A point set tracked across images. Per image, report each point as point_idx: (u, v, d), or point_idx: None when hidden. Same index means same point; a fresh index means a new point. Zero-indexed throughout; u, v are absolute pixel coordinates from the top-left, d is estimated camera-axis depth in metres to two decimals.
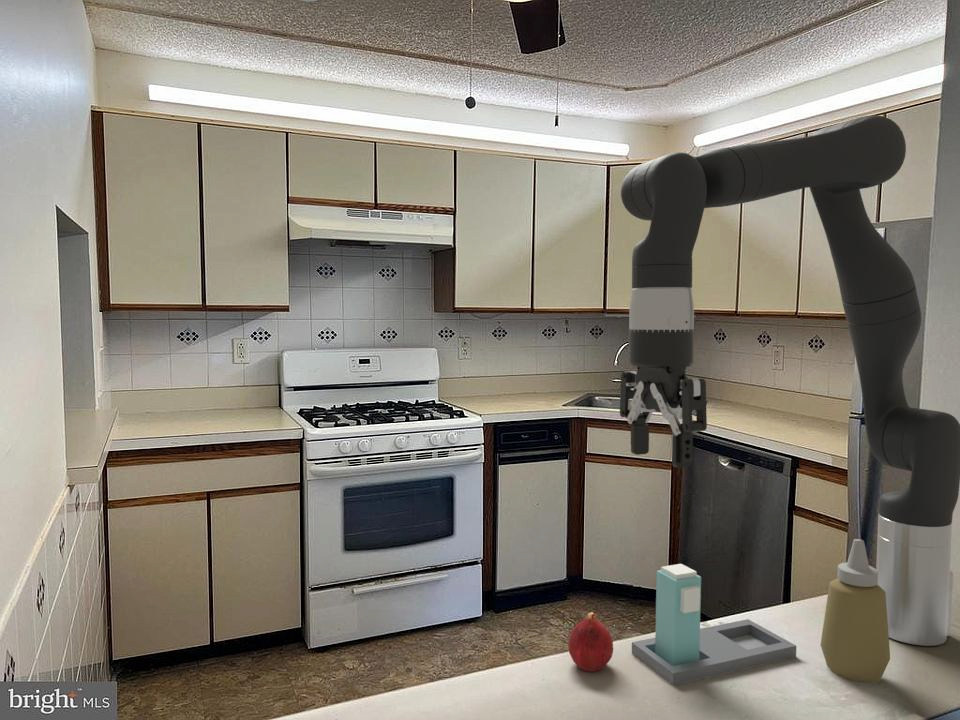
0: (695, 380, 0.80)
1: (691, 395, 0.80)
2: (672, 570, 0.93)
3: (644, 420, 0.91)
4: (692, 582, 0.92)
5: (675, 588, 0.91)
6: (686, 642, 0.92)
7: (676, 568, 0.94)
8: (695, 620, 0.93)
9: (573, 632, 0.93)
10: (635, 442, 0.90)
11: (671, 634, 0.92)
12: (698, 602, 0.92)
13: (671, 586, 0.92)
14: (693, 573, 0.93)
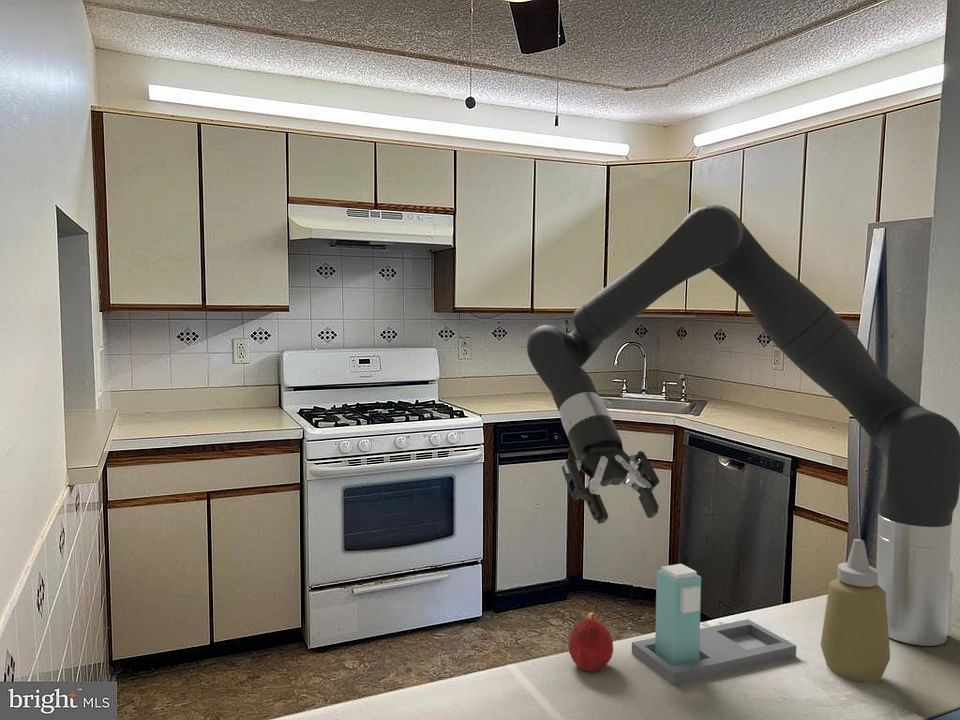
0: None
1: (565, 474, 1.07)
2: (672, 570, 0.93)
3: (642, 488, 1.08)
4: (692, 582, 0.92)
5: (675, 588, 0.91)
6: (686, 642, 0.92)
7: (676, 568, 0.94)
8: (695, 620, 0.93)
9: (573, 632, 0.93)
10: (645, 509, 1.07)
11: (671, 634, 0.92)
12: (698, 602, 0.92)
13: (671, 586, 0.92)
14: (693, 573, 0.93)
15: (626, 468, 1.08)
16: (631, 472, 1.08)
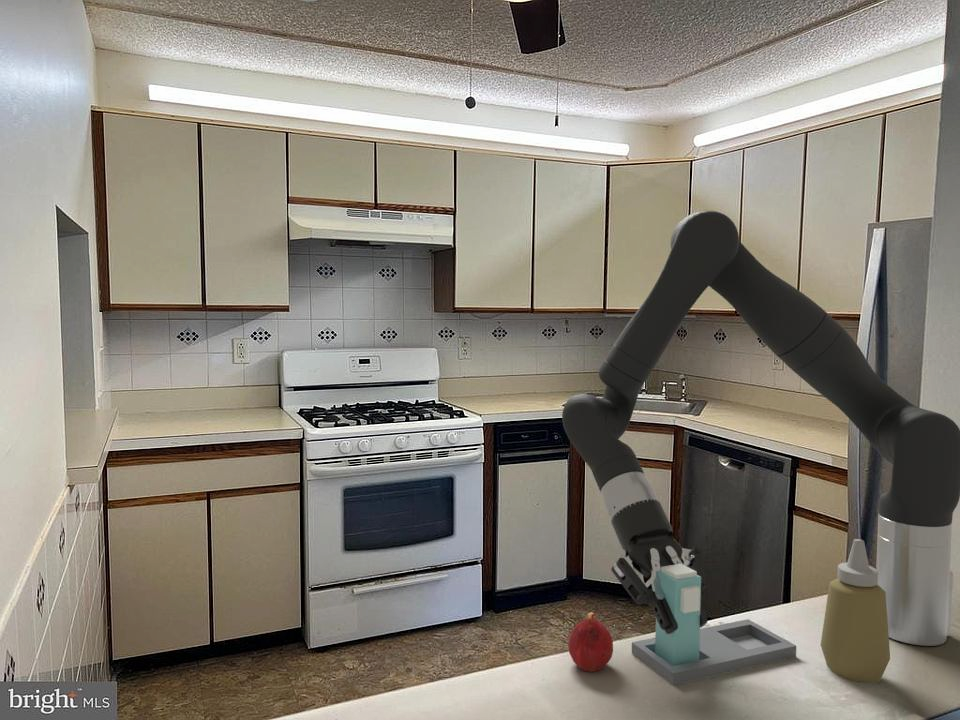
0: (614, 565, 0.96)
1: (619, 578, 0.95)
2: (672, 570, 0.93)
3: None
4: (692, 582, 0.92)
5: (675, 588, 0.91)
6: (686, 642, 0.92)
7: (676, 568, 0.94)
8: (695, 620, 0.93)
9: (573, 632, 0.93)
10: None
11: (671, 634, 0.92)
12: (698, 602, 0.92)
13: (671, 586, 0.92)
14: (693, 573, 0.93)
15: (675, 563, 0.97)
16: None
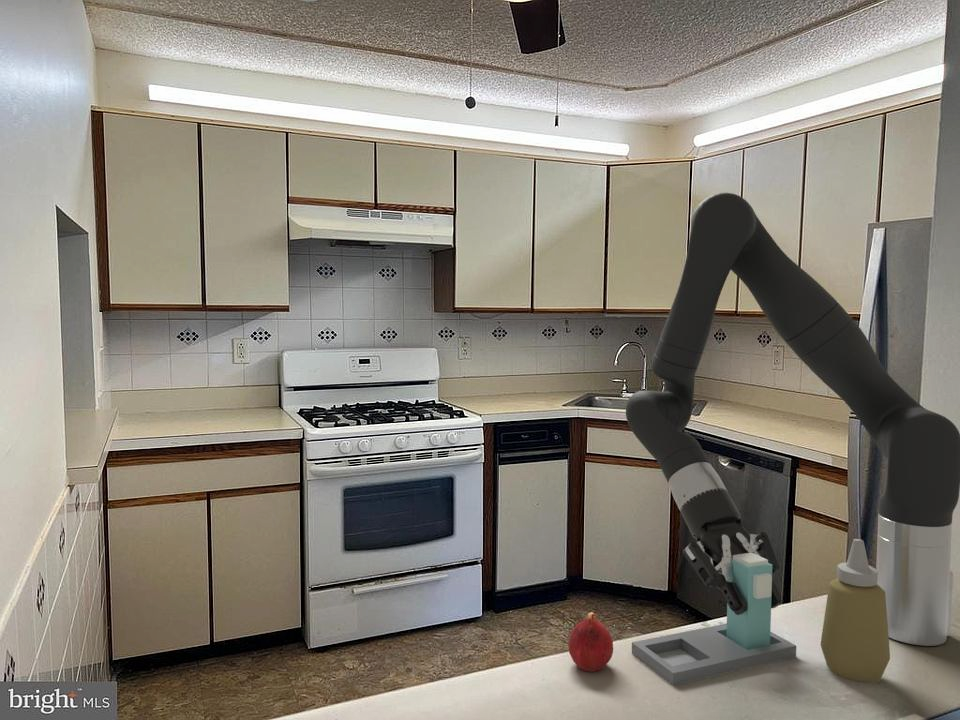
0: (686, 548, 1.00)
1: (690, 560, 1.00)
2: (744, 558, 0.98)
3: None
4: (764, 569, 0.97)
5: (748, 575, 0.96)
6: (758, 627, 0.97)
7: (747, 557, 0.98)
8: (766, 606, 0.97)
9: (573, 632, 0.93)
10: None
11: (744, 619, 0.97)
12: (770, 589, 0.96)
13: (744, 573, 0.97)
14: (765, 561, 0.97)
15: (746, 548, 1.01)
16: None
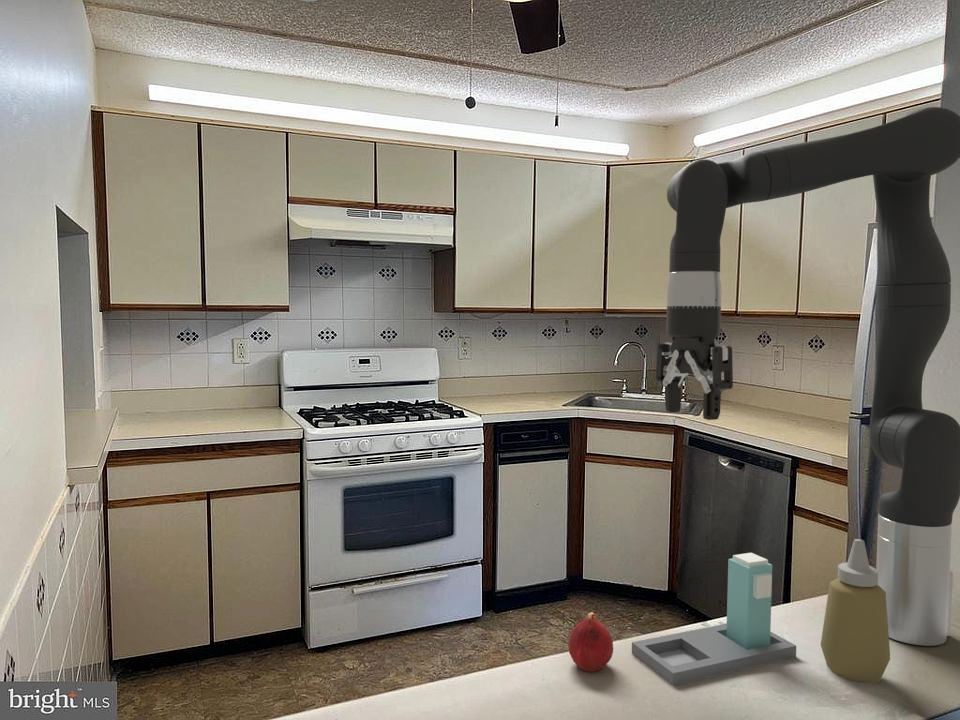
0: (724, 347, 0.98)
1: (720, 359, 0.97)
2: (744, 558, 0.98)
3: (677, 383, 1.08)
4: (764, 569, 0.97)
5: (748, 575, 0.96)
6: (758, 627, 0.97)
7: (747, 557, 0.98)
8: (766, 606, 0.97)
9: (573, 632, 0.93)
10: (669, 402, 1.08)
11: (744, 619, 0.97)
12: (770, 589, 0.96)
13: (744, 573, 0.97)
14: (765, 561, 0.97)
15: None
16: None
